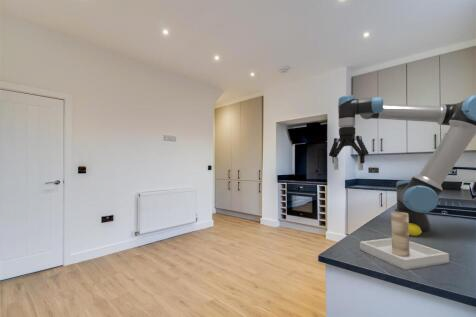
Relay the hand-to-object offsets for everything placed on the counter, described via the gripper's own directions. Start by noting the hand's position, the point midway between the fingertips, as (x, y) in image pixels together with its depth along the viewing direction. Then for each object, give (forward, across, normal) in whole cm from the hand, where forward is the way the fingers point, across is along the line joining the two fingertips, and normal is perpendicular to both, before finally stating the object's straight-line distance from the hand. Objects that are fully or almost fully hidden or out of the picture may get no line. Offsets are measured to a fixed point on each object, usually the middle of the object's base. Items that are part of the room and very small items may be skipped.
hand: (347, 170), depth 120 cm
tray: (+29, -32, +17) cm, 46 cm away
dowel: (+28, -32, +17) cm, 46 cm away
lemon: (+29, -22, -13) cm, 39 cm away
